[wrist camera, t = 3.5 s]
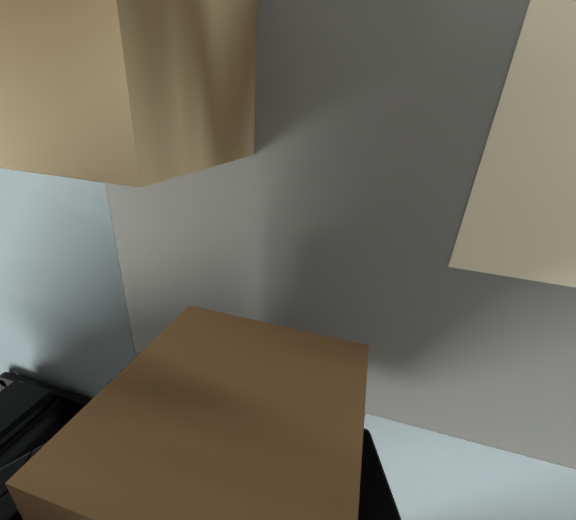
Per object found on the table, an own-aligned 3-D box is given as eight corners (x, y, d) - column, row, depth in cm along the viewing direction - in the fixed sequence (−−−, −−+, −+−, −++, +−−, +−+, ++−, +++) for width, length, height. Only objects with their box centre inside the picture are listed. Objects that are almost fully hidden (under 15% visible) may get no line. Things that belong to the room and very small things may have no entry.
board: (739, 497, 10) (759, 519, 10) (143, 343, 15) (134, 351, 14) (1415, -111, 4) (1570, -145, 4) (81, -52, 9) (61, -63, 8)
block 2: (341, 470, 10) (309, 745, 6) (198, 426, 11) (77, 628, 7) (368, 345, 8) (351, 625, 4) (189, 305, 9) (4, 483, 5)
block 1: (253, 155, 9) (140, 187, 5) (110, 139, 10) (-87, 155, 6) (258, -73, 7) (70, -360, 3) (78, -64, 8) (-260, -265, 4)
